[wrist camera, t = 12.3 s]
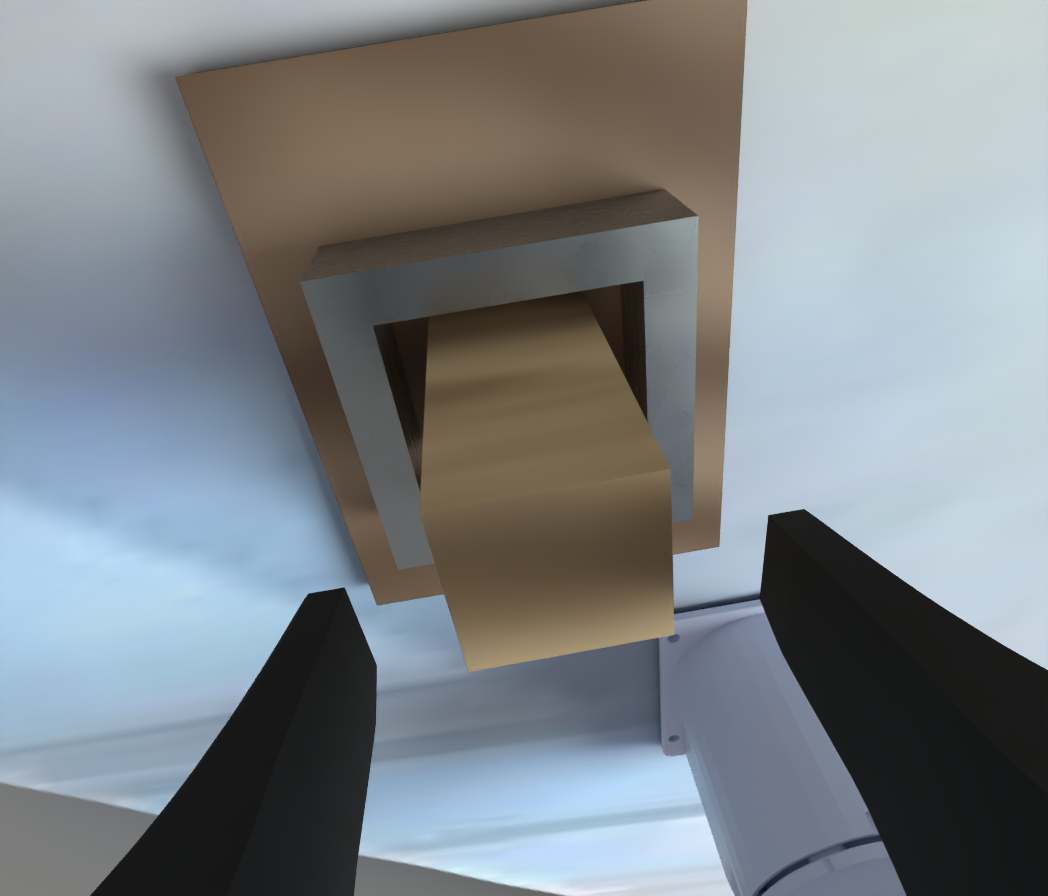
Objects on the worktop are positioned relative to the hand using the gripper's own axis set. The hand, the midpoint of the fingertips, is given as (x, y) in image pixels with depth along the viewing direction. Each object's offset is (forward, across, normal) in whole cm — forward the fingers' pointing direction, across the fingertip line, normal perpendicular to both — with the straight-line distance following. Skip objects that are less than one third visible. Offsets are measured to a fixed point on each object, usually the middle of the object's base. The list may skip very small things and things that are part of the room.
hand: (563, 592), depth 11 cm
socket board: (+9, 0, 0) cm, 9 cm away
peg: (+8, 0, 0) cm, 8 cm away
